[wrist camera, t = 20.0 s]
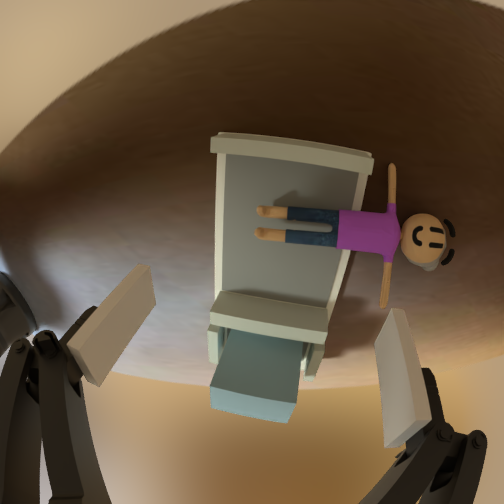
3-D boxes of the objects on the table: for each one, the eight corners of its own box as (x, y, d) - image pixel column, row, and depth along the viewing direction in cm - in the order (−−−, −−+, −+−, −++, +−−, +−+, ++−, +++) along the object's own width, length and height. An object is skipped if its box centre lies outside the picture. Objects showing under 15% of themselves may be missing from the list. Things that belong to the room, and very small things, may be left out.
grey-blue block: (232, 347, 29) (211, 407, 22) (233, 321, 27) (209, 386, 20) (295, 359, 28) (286, 423, 21) (303, 334, 26) (296, 403, 19)
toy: (259, 143, 18) (464, 168, 14) (272, 167, 23) (437, 185, 20) (244, 299, 18) (457, 317, 15) (261, 289, 23) (429, 304, 20)
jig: (217, 350, 31) (208, 373, 28) (220, 132, 19) (203, 136, 16) (311, 367, 29) (309, 392, 26) (370, 152, 18) (382, 161, 15)
